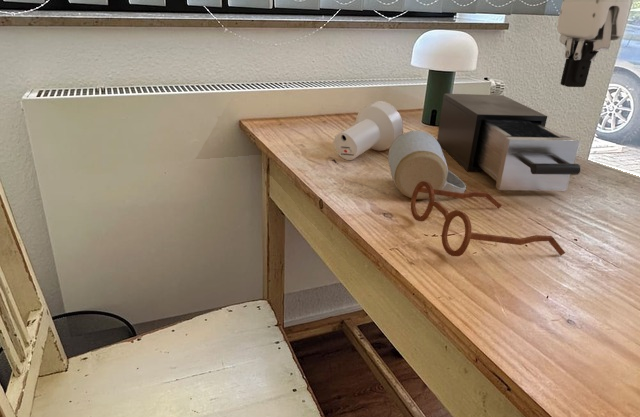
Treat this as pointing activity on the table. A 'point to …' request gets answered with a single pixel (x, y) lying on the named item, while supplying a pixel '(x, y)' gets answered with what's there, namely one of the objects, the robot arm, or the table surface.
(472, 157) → the dark brown hollow box
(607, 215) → the table surface
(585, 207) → the table surface
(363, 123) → the spotlight
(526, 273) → the table surface
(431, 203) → the glasses
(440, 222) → the table surface
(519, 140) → the drawer
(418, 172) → the ceramic mug
